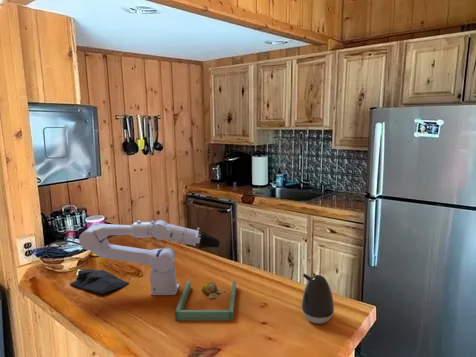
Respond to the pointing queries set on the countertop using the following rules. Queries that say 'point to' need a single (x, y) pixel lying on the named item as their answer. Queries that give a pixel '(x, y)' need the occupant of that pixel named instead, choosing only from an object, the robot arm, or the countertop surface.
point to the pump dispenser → (317, 300)
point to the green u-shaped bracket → (204, 314)
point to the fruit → (211, 290)
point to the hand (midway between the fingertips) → (218, 243)
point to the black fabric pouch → (98, 281)
